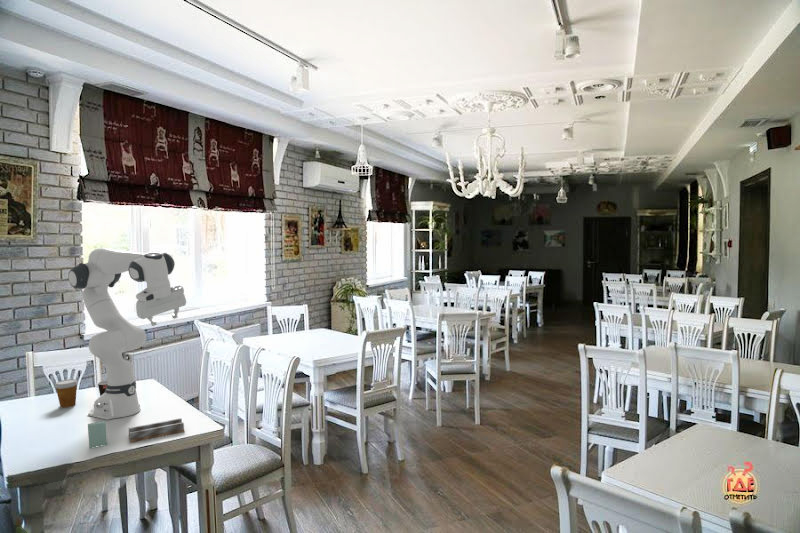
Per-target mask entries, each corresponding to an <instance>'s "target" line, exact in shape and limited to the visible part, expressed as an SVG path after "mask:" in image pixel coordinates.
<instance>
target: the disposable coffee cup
mask: <svg viewBox="0 0 800 533" xmlns="http://www.w3.org/2000/svg"><path fill="white" fill-rule="evenodd" d="M78 384H79V383H78V380H77V379H76V378H71V379H69V378H68V379H63V380H59V381H56V382H55V384H54V388H55V389H56V390H55V391H56V395H57V398H58V403H59V407H60V408H61V407H63V408H62V409H65V408H66V409H67V408H71V407H73V406H74V407H75V406H76V402H77V389H78V388H77V387H78Z"/></svg>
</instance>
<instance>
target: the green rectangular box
mask: <svg viewBox="0 0 800 533" xmlns="http://www.w3.org/2000/svg"><path fill="white" fill-rule="evenodd" d="M87 433H88V436H87V437H88V446H89V448H90V449H93V448H92V447H95V448H97V447H96V446H100V447H102V446H101V445H105V446H108V438H107V421H106V420H102V421H96V422H91V423H87Z"/></svg>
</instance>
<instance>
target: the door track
mask: <svg viewBox="0 0 800 533" xmlns="http://www.w3.org/2000/svg"><path fill="white" fill-rule="evenodd" d="M184 424H185V423H184V421H182V418H181V417H179V418H175V419H170V420H164V421H159V422H154V423H148V424H143V425H138V426H134V427H128V437H129V438H128V439H129V443H130V444H132V443H138V442H142V441H146V440H147V439H148V440H152V438H153V439H156V438H162V437H165V436H166V435H167V436H171V435H177V434H181V433H185V425H184ZM167 436H166V437H167Z"/></svg>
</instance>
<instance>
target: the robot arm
mask: <svg viewBox="0 0 800 533" xmlns="http://www.w3.org/2000/svg"><path fill="white" fill-rule="evenodd" d="M88 255H89V256H88V262H86V263H82V262H80V263H79V264H77V265H76V266H73V267H72V268H70V270H69V271H68V273H67V274H68V276H67V277H68V282H69V285H70V286H71V287H72V288H74V289H76V290H82V293H81V294H82V295H81V296H82V300H83V304H84V305H85V308H86V311H87V312H88V314H89V317H90V318H91V321H92V322H93V324H94V325H95V326H96V327H97V328H99V329H103V330H105V331H102V332H99V333H96V335H93V336H91V338H90V339H89V342H88V350H89V352H90V353H91V355H93V356H94V357H95V358H98V359H99V360H100V361H101V362H102V364H103V365H104V367H105V372H106V380H107V383H108V384H107V385H105V387H104V386H103V387H104V388H106V389H105V393H104V394H102V395H101V396H100V395H99V397H97V399H95V400H94V403H93V409H92V410H91V411H89V412H88V413H87V416H89V417H94V418H98V419H102V420H104V421H106V420H112V419H119V418H125V417H130V416H133V415H135V414H137V413H139V412H140V411H141V404H140V403H139V399H138V393H137V390H136V389H137V383H136V382H137V381H136V380H135V366H134V364H133V363H132V362H130V361H129V360H126V359H124V356H123V353H126V352H130V351H134V350H137V349H139V348H141V347H143V346H144V345H145V343H146V342H147V341H146V340H147V335H146V332H145V329H143V327H142V328H141V327H140V326H136V325H134V324H133V323H131V322H129V321H128V320H127V319H126V318H125V317H123V315H121V313H120V312H119V309H118V308H117V306H116V305H115V302H114V300H113V299H112V298H111V296H110V294H109V292H108V290H109V288H113V287H115V284H117V283H118V282H119V280H120V279H121V277H122V274H124V273H127V272H128V274H129V277H130V278H131V279H132V280H133V281H135V282H138V283H143V282H144V283H146V288H144V289H142V291H140V292H138V293H137V294H136V295H135V299H137V301H136V304H135V310H136V311H135V312H136V316H137V317H138V318H139V319H141V320H145V319H147V320H148V321H149V322H150V325H151V326H153V327H155V326H157V325H158V324H157V321H156V320H153V319H154V317H153V316H157V315H160V314H163V313H167V312H170V311H173V310H174V311H173V313H172V314H171V315H172V319H174V320H175V319H178V314H179V311H180V308H181V307H184V306H186V305H187V300H186V296H185V289H184V287H183V286H182V285H180V284H179V285H176V286H173V287H171V281H170V279H169V277H168V276H169V275H171V274H172V272H173V271H174V268H175V265H176V264H175V261H174V258H173V256H172V255H171V254H169V253H167V252H165V251H162V252H159V251H150V252H146V253H144V252H134V251H133V252H132V251H126V250H125V251H124V250H118V249H113V248H107V247H103V248H102V247H101V248H95V249H94V250H92V251H91V252H90V253H89V254H88Z"/></svg>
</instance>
